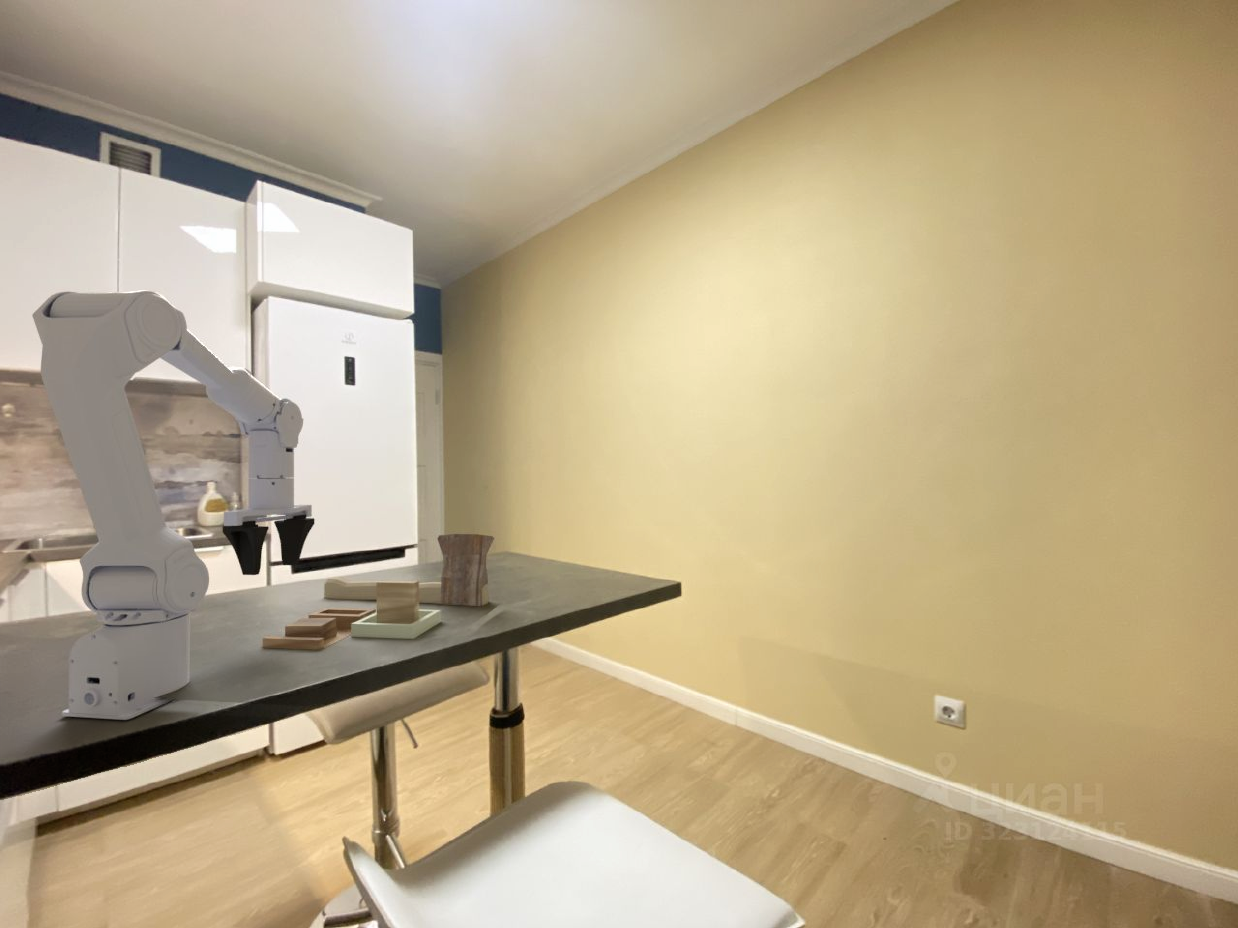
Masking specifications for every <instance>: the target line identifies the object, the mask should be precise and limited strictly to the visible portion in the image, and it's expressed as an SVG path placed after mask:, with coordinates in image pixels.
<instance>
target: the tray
mask: <svg viewBox="0 0 1238 928" xmlns="http://www.w3.org/2000/svg"><path fill="white" fill-rule="evenodd" d="M441 622H442V609H421V608H419V620H417V621H415V622H414V623H412V624H394V623H377V611H376V613H374V614H371V615H369V616H367V617H365V618H363V619H361V620H358V621H356V622H354V623H352V624H351V635H350V637H353V638H381V639H382V638H383V639H408V640H409V639H412V640H414V639H415V638H417V637H419V636H420V635H421V634H423V633H425V632H427V631H428V630H430V629H432V628H433V627H435V626H437V625H438V624H440V623H441Z"/></svg>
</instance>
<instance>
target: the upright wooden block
mask: <svg viewBox="0 0 1238 928" xmlns="http://www.w3.org/2000/svg"><path fill="white" fill-rule="evenodd" d="M378 581H379V582H377V600H376V612H377V623H394V624H412V623H414V622H415V621H417V620H419V609H420V603H419V583H420V581H419V580H391V579H390V580H389V579H387V580H386V579H383V580H378Z"/></svg>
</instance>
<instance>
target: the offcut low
mask: <svg viewBox="0 0 1238 928" xmlns="http://www.w3.org/2000/svg"><path fill="white" fill-rule="evenodd" d="M336 635H337V627H334V628H332V629H330V630H328V631H327V632H325V633H323V634H321V635H285V634H284V637H312V638H324V641H325V640H327V639H329V638H331V637H334V636H336Z"/></svg>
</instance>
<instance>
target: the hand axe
mask: <svg viewBox="0 0 1238 928" xmlns="http://www.w3.org/2000/svg"><path fill="white" fill-rule="evenodd" d="M436 539H437V542H438V544H439V547H440V550H441V554H442V561H443V563H442V564H443V568H442V572H441V577H440V580H441V581H428V582H419V604H420V603H421V604H422V603H423V604H440V605H448V606H452V605H453V606H469V607H470V606H472V607H482V606H485V605H487V604H488V603H489V602H490V601H489V599H490V598H489V579H488V578H489V575H488V570H487V555H488V552H489V551H490V548H491V547H492V544H493V542H494V540H495V538H494V536H493V535H485V534H484V535H483V534H475V533H473V534H472V533H471V534H469V533H451V534H443V535H442V534H441V535H438V537H437V538H436ZM379 581H380V580H365V581H364V580H361V581H359V580H358V581H352V580H350V579H346V578H344V577H337V576H336V577H335V576H334V577H330V578H327V579H326V580H325V581H324V583H323V586H324V588H323V589H324V590H323V591H324V592H323V593H324V594H323V596H324V597H323V598H324V599H331V600H332V599H333V600H334V599H335V600H336V599H337V600H359V601H360V600H363V601H377V582H379Z"/></svg>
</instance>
